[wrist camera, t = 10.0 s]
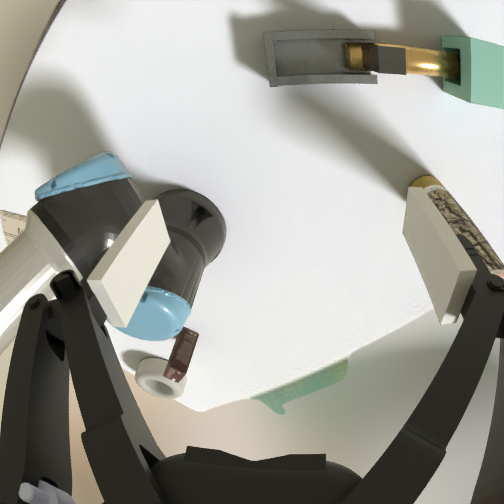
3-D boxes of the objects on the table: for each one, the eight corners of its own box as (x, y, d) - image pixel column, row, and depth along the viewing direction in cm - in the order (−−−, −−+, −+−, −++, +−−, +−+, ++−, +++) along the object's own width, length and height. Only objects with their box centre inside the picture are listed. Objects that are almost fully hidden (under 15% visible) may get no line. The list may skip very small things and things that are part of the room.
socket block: (442, 91, 37) (470, 103, 30) (441, 36, 32) (470, 37, 24) (473, 95, 36) (504, 109, 29) (473, 42, 31) (505, 46, 23)
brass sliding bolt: (346, 69, 37) (365, 77, 27) (344, 42, 35) (363, 40, 25) (470, 80, 34) (515, 97, 24) (470, 56, 31) (516, 66, 22)
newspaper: (13, 247, 68) (7, 252, 66) (6, 206, 61) (-1, 210, 59) (75, 268, 68) (70, 274, 66) (71, 223, 62) (64, 228, 60)
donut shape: (178, 358, 83) (172, 377, 78) (193, 385, 92) (188, 403, 87) (132, 353, 86) (125, 371, 81) (150, 380, 95) (144, 397, 89)
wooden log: (408, 172, 46) (476, 273, 26) (444, 175, 45) (521, 271, 25) (403, 209, 50) (456, 319, 30) (437, 210, 49) (499, 315, 29)
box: (182, 326, 74) (169, 366, 65) (199, 333, 75) (187, 374, 66) (175, 337, 78) (161, 376, 68) (191, 345, 79) (179, 384, 69)
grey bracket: (272, 82, 41) (269, 87, 36) (266, 34, 36) (262, 32, 32) (369, 80, 38) (379, 84, 34) (366, 32, 34) (376, 30, 30)
